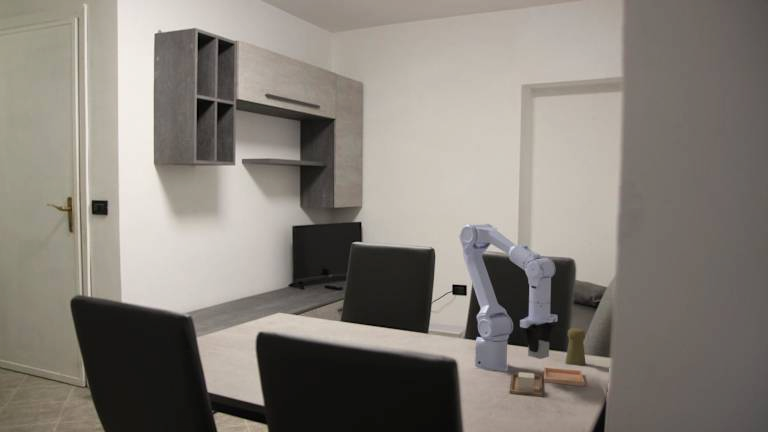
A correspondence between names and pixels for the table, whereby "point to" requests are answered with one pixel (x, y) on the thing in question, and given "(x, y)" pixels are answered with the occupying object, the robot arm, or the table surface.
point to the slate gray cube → (540, 350)
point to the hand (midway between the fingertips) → (538, 350)
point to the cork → (576, 347)
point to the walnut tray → (515, 391)
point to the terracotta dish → (563, 376)
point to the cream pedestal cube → (526, 382)
